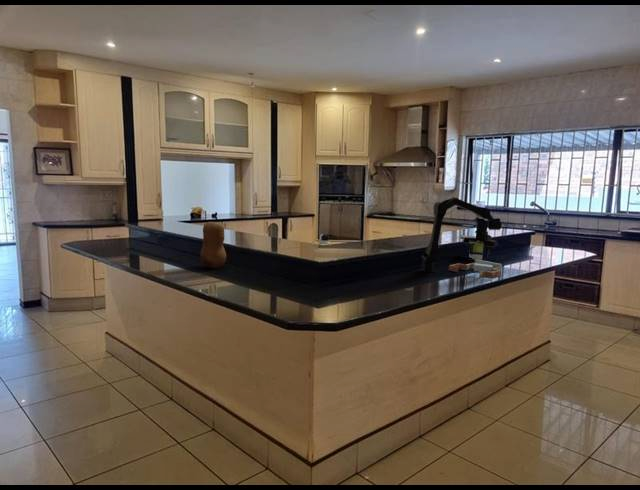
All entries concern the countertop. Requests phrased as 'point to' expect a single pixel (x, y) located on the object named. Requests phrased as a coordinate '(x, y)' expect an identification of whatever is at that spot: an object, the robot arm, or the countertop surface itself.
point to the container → (324, 239)
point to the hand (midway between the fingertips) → (479, 256)
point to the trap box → (455, 267)
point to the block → (482, 267)
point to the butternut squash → (213, 245)
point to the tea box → (475, 249)
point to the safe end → (489, 263)
